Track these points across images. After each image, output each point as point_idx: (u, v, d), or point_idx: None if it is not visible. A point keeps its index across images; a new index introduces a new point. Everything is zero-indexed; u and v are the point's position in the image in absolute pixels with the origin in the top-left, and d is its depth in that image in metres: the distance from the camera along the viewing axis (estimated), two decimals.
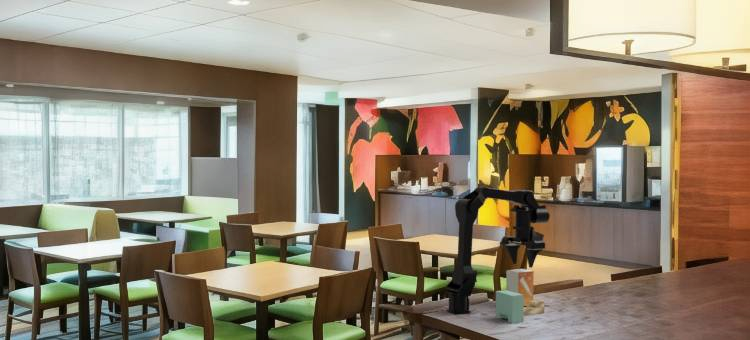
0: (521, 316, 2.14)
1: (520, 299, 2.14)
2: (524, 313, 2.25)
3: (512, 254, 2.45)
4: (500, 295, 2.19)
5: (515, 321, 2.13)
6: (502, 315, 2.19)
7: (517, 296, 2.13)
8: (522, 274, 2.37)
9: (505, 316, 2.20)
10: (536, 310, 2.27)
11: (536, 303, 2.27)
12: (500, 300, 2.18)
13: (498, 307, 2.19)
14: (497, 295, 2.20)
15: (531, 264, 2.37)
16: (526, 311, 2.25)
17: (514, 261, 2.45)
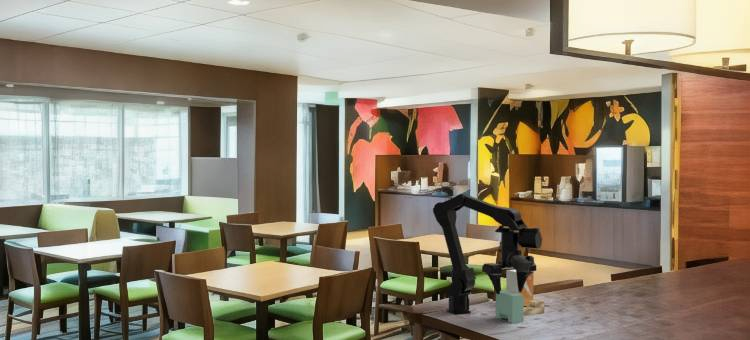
0: (521, 316, 2.14)
1: (520, 299, 2.14)
2: (524, 313, 2.25)
3: (518, 280, 2.21)
4: (500, 295, 2.19)
5: (515, 321, 2.13)
6: (502, 315, 2.19)
7: (517, 296, 2.13)
8: None
9: (505, 316, 2.20)
10: (536, 310, 2.27)
11: (536, 303, 2.27)
12: (500, 300, 2.18)
13: (498, 307, 2.19)
14: (497, 295, 2.20)
15: (496, 290, 2.16)
16: (526, 311, 2.25)
17: (519, 288, 2.20)
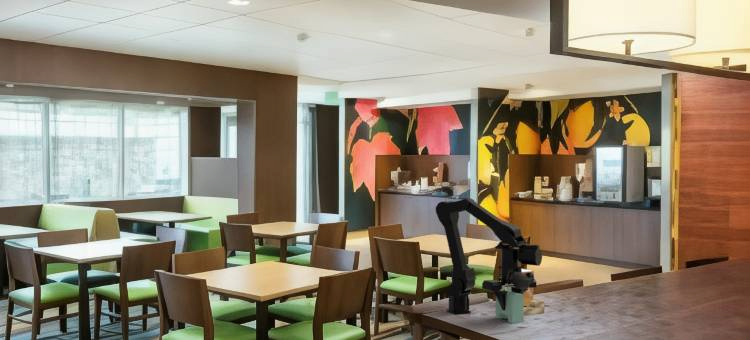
0: (521, 316, 2.14)
1: (520, 299, 2.14)
2: (524, 313, 2.25)
3: None
4: None
5: (515, 321, 2.13)
6: (502, 315, 2.19)
7: (517, 296, 2.13)
8: None
9: (505, 316, 2.20)
10: (536, 310, 2.27)
11: (536, 303, 2.27)
12: None
13: (498, 307, 2.19)
14: None
15: (502, 306, 2.16)
16: (526, 311, 2.25)
17: None
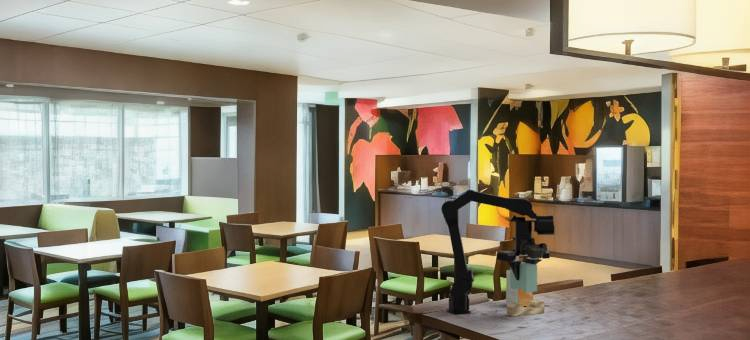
0: (535, 286, 2.21)
1: (534, 269, 2.21)
2: (524, 313, 2.25)
3: None
4: None
5: (529, 290, 2.20)
6: (517, 285, 2.26)
7: (531, 266, 2.21)
8: None
9: (519, 286, 2.27)
10: (536, 310, 2.27)
11: (536, 303, 2.27)
12: None
13: (513, 278, 2.26)
14: None
15: (516, 276, 2.24)
16: (526, 311, 2.25)
17: None
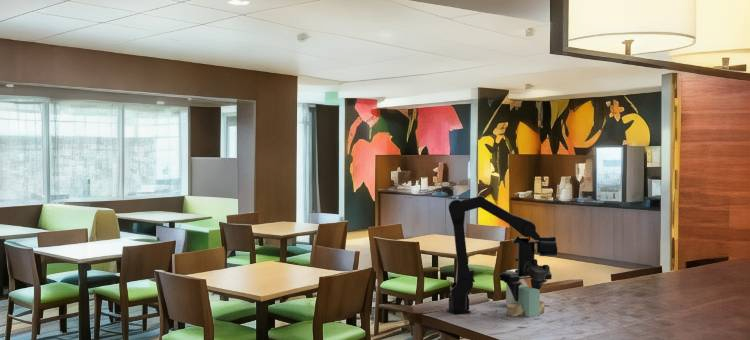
0: (537, 310, 2.23)
1: (536, 294, 2.23)
2: (524, 313, 2.25)
3: None
4: None
5: (531, 315, 2.22)
6: None
7: (533, 291, 2.23)
8: None
9: None
10: None
11: None
12: None
13: None
14: None
15: (515, 298, 2.25)
16: None
17: None
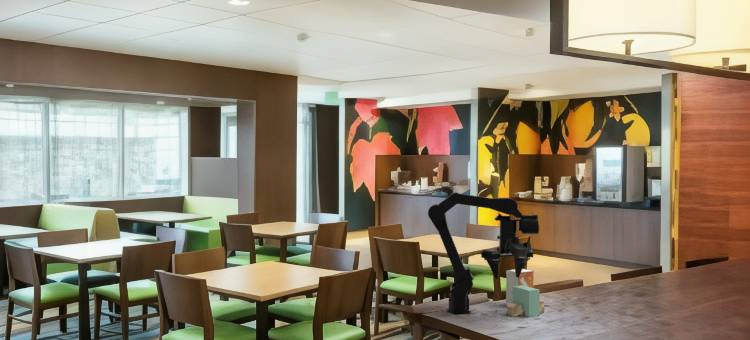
0: (537, 310, 2.23)
1: (536, 294, 2.23)
2: (524, 313, 2.25)
3: (516, 266, 2.30)
4: (516, 290, 2.28)
5: (531, 315, 2.22)
6: None
7: (533, 291, 2.23)
8: (522, 274, 2.37)
9: None
10: None
11: None
12: (517, 294, 2.27)
13: None
14: (514, 290, 2.29)
15: (495, 275, 2.25)
16: None
17: (516, 274, 2.29)
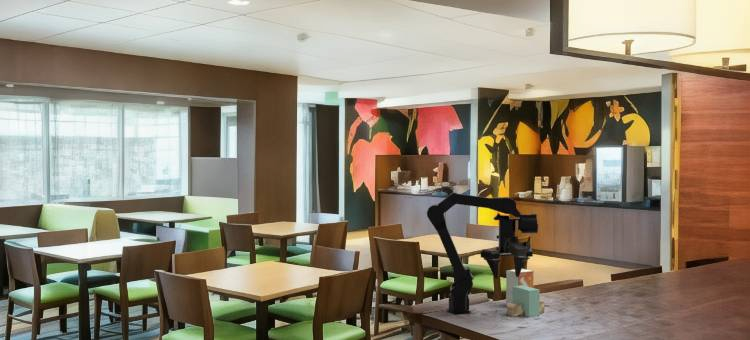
0: (537, 310, 2.23)
1: (536, 294, 2.23)
2: (524, 313, 2.25)
3: (515, 266, 2.30)
4: (516, 290, 2.28)
5: (531, 315, 2.22)
6: None
7: (533, 291, 2.23)
8: (522, 274, 2.37)
9: None
10: None
11: None
12: (517, 294, 2.27)
13: None
14: (514, 290, 2.29)
15: (494, 275, 2.25)
16: None
17: (516, 273, 2.29)
